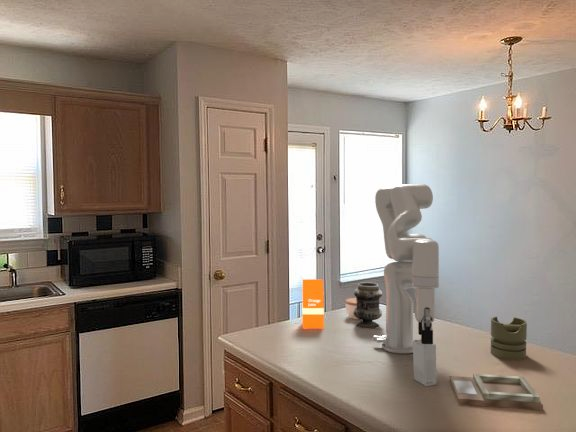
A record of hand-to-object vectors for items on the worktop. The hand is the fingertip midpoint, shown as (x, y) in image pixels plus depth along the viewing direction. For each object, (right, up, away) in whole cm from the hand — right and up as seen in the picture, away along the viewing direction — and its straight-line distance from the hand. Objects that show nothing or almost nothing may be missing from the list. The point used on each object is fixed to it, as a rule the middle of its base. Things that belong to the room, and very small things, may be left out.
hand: (425, 339), depth 142 cm
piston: (+36, -12, +25) cm, 46 cm away
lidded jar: (-9, -10, +75) cm, 76 cm away
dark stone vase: (-7, -10, +62) cm, 63 cm away
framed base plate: (+17, -14, -8) cm, 23 cm away
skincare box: (0, -13, +1) cm, 13 cm away
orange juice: (-30, -11, +62) cm, 70 cm away
